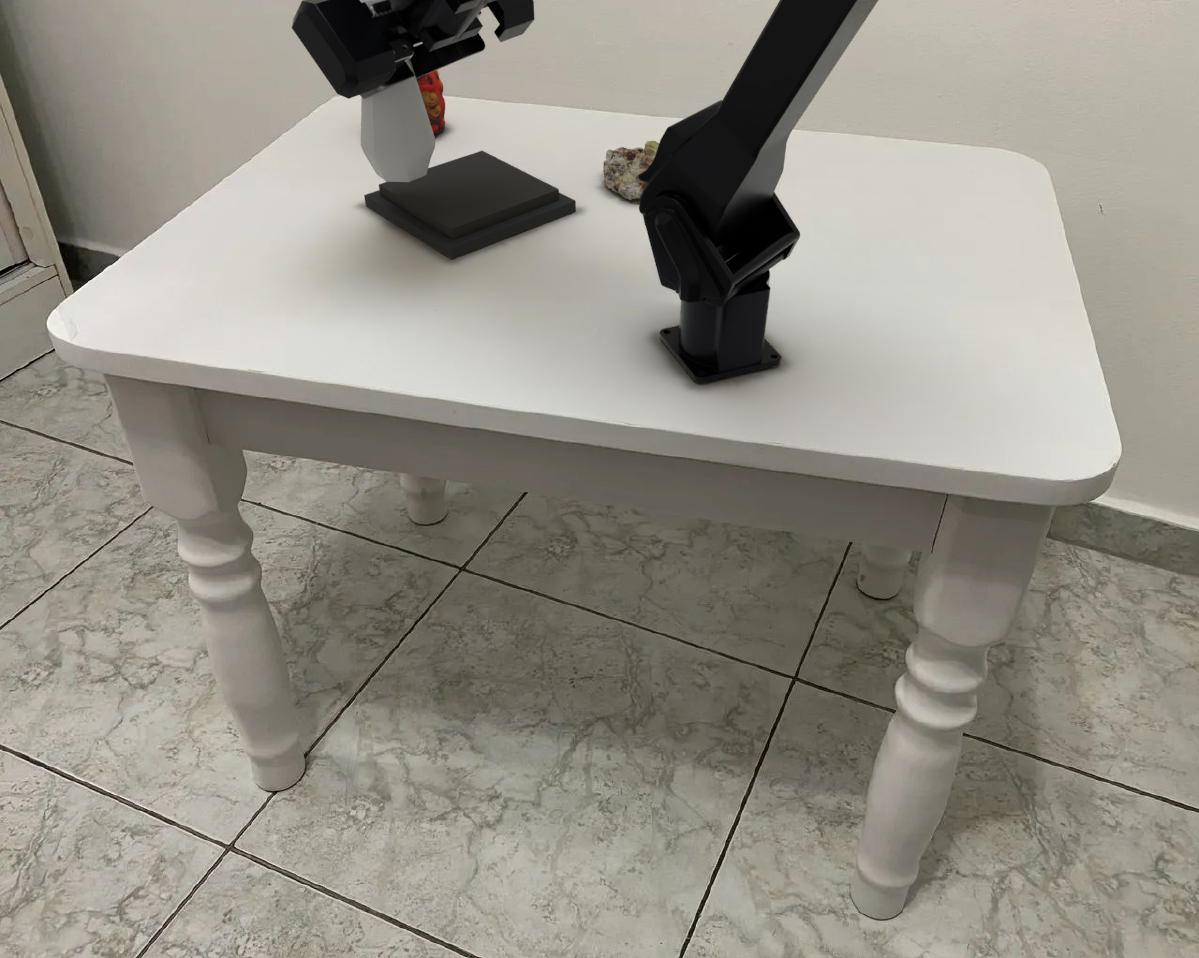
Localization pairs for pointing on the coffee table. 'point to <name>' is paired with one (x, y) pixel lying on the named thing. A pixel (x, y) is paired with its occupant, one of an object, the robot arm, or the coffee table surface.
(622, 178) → the mineral rock
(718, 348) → the robot arm
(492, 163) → the pad stack
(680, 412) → the coffee table surface
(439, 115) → the red clay folk toy
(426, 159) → the salt shaker
